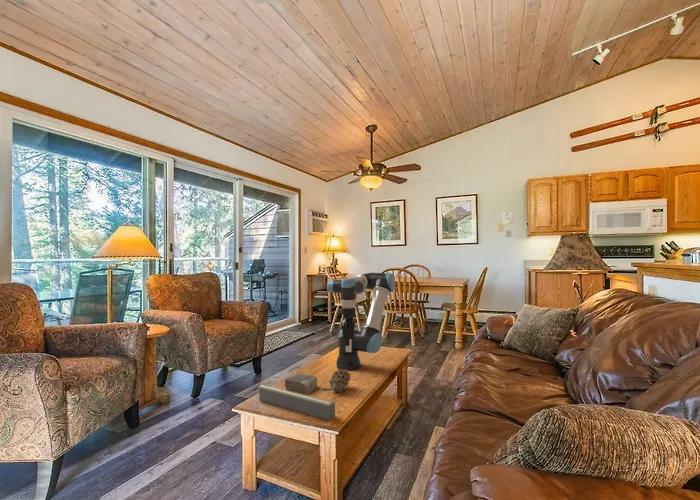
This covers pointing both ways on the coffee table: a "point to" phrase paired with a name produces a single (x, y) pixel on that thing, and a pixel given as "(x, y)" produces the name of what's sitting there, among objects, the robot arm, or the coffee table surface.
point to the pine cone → (338, 380)
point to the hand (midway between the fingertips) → (348, 351)
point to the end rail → (297, 402)
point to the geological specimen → (301, 383)
